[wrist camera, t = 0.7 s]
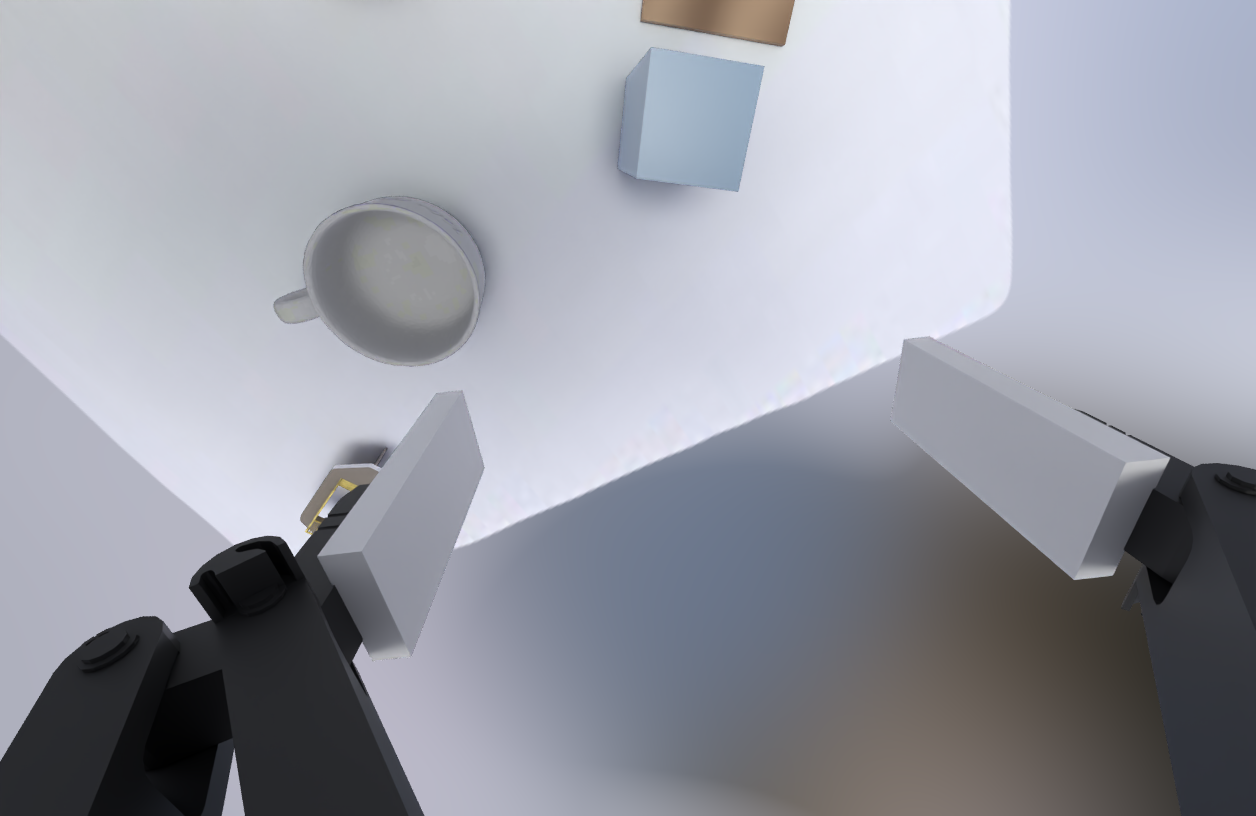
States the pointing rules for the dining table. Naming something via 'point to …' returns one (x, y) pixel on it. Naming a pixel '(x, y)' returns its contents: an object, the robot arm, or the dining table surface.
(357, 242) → the teacup
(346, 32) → the dining table surface
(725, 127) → the pale blue tall brick
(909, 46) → the dining table surface
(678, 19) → the square wooden base plate
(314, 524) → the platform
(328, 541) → the robot arm
